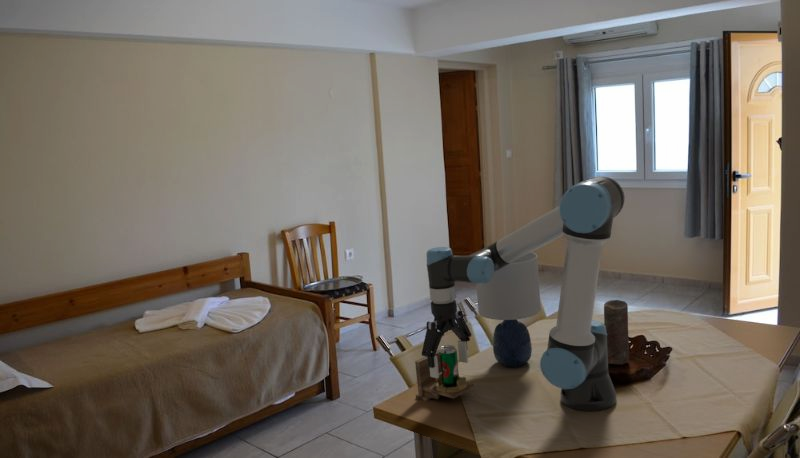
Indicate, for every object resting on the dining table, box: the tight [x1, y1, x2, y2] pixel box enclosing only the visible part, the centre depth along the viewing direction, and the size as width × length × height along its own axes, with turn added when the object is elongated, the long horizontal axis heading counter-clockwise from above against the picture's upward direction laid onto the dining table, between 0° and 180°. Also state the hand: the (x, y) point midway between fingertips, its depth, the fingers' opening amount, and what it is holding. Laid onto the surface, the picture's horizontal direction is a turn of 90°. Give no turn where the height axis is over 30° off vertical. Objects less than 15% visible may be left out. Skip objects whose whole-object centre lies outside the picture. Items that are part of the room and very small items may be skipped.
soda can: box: [439, 344, 460, 388], centre depth 192 cm, size 5×5×12 cm
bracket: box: [414, 349, 475, 402], centre depth 194 cm, size 14×11×12 cm
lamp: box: [475, 251, 542, 368], centre depth 214 cm, size 20×20×37 cm
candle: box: [603, 299, 630, 366], centre depth 206 cm, size 8×7×20 cm
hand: (449, 369), depth 192 cm, fingers open, 13 cm apart
